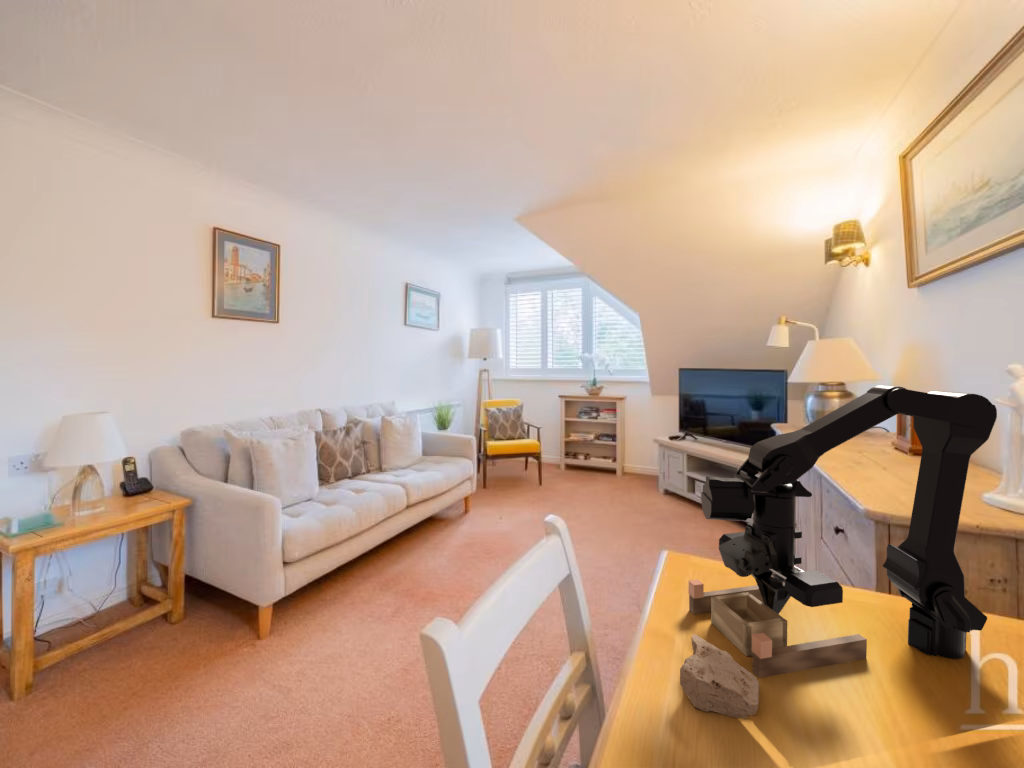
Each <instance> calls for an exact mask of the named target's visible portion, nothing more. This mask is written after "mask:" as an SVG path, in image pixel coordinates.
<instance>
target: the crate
mask: <svg viewBox="0 0 1024 768" xmlns="http://www.w3.org/2000/svg"><path fill="white" fill-rule="evenodd" d="M710 622H711V625H713V626H714V628H716V630H718V631H719V633H721V634H722V635H723V636H724V637H725V638H726V639H727V640H729V641H730V643H732V644H733V645H734V646H735V647H736V648H737V649H738V650H739V651H740V652H741V653H742V654H743V655H745V657H751V656H752V657H753V652H752V634H758V633H764V634H765V635H766V636H768V637H769V638H770V639H771V640H772V649H773V648H779V647H785V646H788V620H787V619H785V617H783V616H782V615H780V613H779V614H777V613H776V612H775V611H773V610H772V609H771V608H769V607H768V606H766V605H765V604H764V603H762V602H761V601H760V600H758V599H757V598H755V597H754V596H753V595H751V594H750V593H749V592H745V593H737V594H730V595H723V596H716V597H711V612H710Z"/></svg>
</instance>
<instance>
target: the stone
mask: <svg viewBox="0 0 1024 768" xmlns="http://www.w3.org/2000/svg"><path fill="white" fill-rule="evenodd" d="M691 646H692V648H691V649H692V650H693V653H692V655H690V656H689V657H687V658H685V659H684V661H683V664H682V665H681V667H680V670H679V684H680V686H681V689H682V690H683V692H684V694H685V695H686V696H687V697H688V699H689V700H690V703H691V704H693V706H694V707H695V708H696V709H699V710H701V711H702V712H706V713H708V712H715V713H719V714H720V715H723V716H728V717H731V718H737V719H740V718H741V719H747V718H748V719H749V718H750V717H749V716H752V717H753V716H754V715H756V714H757V713H758V709H759V704H760V701H759V700H760V699H759V697H760V682H759V680H758V679H757V678H758V677H757V676H756V675H755V674H754V673H753V672H752V673H751V671H749V670H747V668H745V667H743V666H742V665H740V664H739V663H738V662H737V661H736V660H735V659H733V657H732V655H731V654H730V653H729V652H728V651H726V650H724V649H723V650H721V649H720V648H718V647H717V646H715V644H712V643H710V642H708V641H707V640H705V639H703V638H702V637H701V636H699V635H698V634H696V633H693V634H692V636H691ZM748 715H749V716H748Z"/></svg>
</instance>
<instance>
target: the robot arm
mask: <svg viewBox="0 0 1024 768" xmlns="http://www.w3.org/2000/svg"><path fill="white" fill-rule="evenodd" d="M898 414H899V415H903V416H908V417H912V418H913V420H912V421H913V430H914V432H915V434H916V436H917V438H918V440H919V442H920V445H921V449H922V450H921V457H920V462H919V470H918V474H917V480H916V481H917V482H916V487H915V493H914V498H913V505H912V510H911V516H910V521H909V522H910V523H909V529H908V534H907V538H906V539H905V540H904V541H902V542H901V543H900V544H898V545H895V544H892V543H889V544H887V546H886V558H885V559H886V560H885V561H884V563H883V564H882V568H884V569H885V570H886V576H887V578H888V580H889V581H890V582H891V584H892V585H893V586H894V587H896V588H897V592H898V593H899V596H901V597H902V598H905V599H906V600H908V602H910V603H911V607H909V616H908V617H909V619H908V623H907V624H908V627H907V645H909V646H910V647H912V648H914V649H916V650H917V651H919V652H921V653H922V654H924V655H926V656H932V657H940V658H944V659H949V660H961V659H964V658H965V657H966V656H965V655H966V651H967V633H970V632H971V631H982V630H983V628H984V627H985V625H986V622H987V620H988V616H986V614H984V613H983V612H982V611H981V610H980V609H979V608H978V607H977V606H976V605H974V604H973V603H972V602H971V600H969V599H968V598H967V597H966V588H965V587H966V586H965V574H964V573H963V569H962V567H961V565H960V563H959V561H958V558H957V557H956V554H955V546H956V542H957V541H956V539H957V535H958V528H959V522H960V518H961V512H962V507H963V506H962V505H963V501H964V500H963V499H964V494H965V488H966V483H967V476H968V472H969V471H968V470H969V466H970V465H969V464H970V459H971V456H972V455H973V454H974V453H975V452H976V451H978V449H980V448H981V447H982V446H983V445H984V444H985V443H986V442H987V441H988V440H989V439H990V436H991V434H992V431H993V428H994V426H995V423H996V421H997V418H998V410H997V406H996V405H995V404H993V402H991V401H990V400H989V399H988V398H987V397H985V396H983V395H981V394H976V393H970V392H969V393H967V392H957V391H956V392H955V391H945V390H944V391H943V390H942V391H941V390H934V391H932V390H930V391H929V392H924V391H918V390H912V389H907V388H906V387H903V386H895V385H886V384H885V385H884V384H883V385H879V384H878V385H876V386H873V387H871V388H869V389H868V390H867V391H866V392H865V393H863V394H862V395H860V396H858V397H857V398H854V399H852V400H851V401H849V402H847V403H846V404H844V405H841V406H840V407H838V408H836V409H835V410H832V411H831V412H829V413H828V414H827V413H826V415H824V416H822V417H820V418H818V419H817V420H815V421H813V422H811V423H809V424H807V425H806V426H803V427H802V428H800V429H798V430H797V429H796V430H795V431H794V430H793V431H790V432H786V433H782V434H777V435H774V436H770V437H768V438H764V439H763V440H760V441H759V440H758V441H757V442H756V443H754V444H753V445H752V446H751V447H750V448H749V452H748V457H747V458H746V459H745V461H744V462H743V463H742V464H741V465H740V467H739V468H738V469H737V470H736V472H735V473H734V474H733V476H734V477H718V476H714V475H713V476H711V475H707V476H706V477H705V483H704V484H703V487H702V491H701V493H700V499H701V501H700V502H701V508H702V513H703V515H704V518H705V519H707V520H715V521H734V522H735V521H738V522H746V521H747V520H748V519H752V522H746V525H745V526H744V530H745V531H740V532H739V531H738V532H731V533H723V534H722V535H721V537H720V538H718V550H719V553H720V556H721V560H722V562H723V565H724V567H726V568H727V569H729V570H731V571H732V572H733V573H735V574H736V575H737V576H738V577H741V578H746V577H749V576H752V578H754V580H755V582H756V585H758V587H759V590H760V592H761V596H762V599H763V602H764V604H765V605H766V606H768V607H769V608H771V609H772V610H773V611H775V612H776V613H777V614H779V615H780V613H781V612H782V610H783V609H784V607H785V606H786V604H787V602H788V601H789V600H790V598H793V599H794V600H796V601H797V602H799V603H801V604H802V605H804V606H806V607H810V608H815V607H822V606H823V607H824V606H828V605H829V606H830V605H834V604H835V605H837V604H841V603H843V600H844V598H843V596H844V590H843V586H842V585H841V584H840V583H839V582H838V581H837V580H835V579H833V578H831V577H829V576H827V575H825V574H824V573H821V572H820V571H818V570H816V569H814V570H805V571H804V570H803V569H801V568H799V567H797V566H796V565H801V564H802V557H801V556H799V555H797V554H796V539H802V538H803V531H802V530H800V529H797V528H796V503H797V502H796V501H797V500H796V499H797V498H800V497H801V498H811V497H812V496H813V493H812V492H811V491H810V490H808V489H807V488H806V487H805V486H804V485H803V484H802V483H801V481H800V480H799V479H800V478H801V477H802V476H804V475H805V474H806V473H808V472H809V471H811V470H812V469H813V467H815V464H816V463H817V462H818V460H819V458H820V457H822V456H823V455H825V454H826V453H828V452H829V451H832V450H833V449H835V448H837V447H839V446H841V445H842V444H845V443H846V442H848V441H849V440H852V439H853V438H855V437H857V436H859V435H860V434H863V433H865V432H866V431H868V430H870V429H873V428H874V427H876V426H877V425H880V424H881V423H883V422H885V421H887V420H889V419H891V418H892V417H894V416H896V415H898ZM758 474H760V476H759V477H758V476H757V475H758Z"/></svg>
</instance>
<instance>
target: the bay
mask: <svg viewBox="0 0 1024 768" xmlns="http://www.w3.org/2000/svg"><path fill="white" fill-rule="evenodd" d="M704 586H705V585H704V583H703V582H702V581H701V580H699V579H691V580H688V596H689V597H688V598H689V599H688V600H689V601H688V602H689V603H688V604H689V605H688V606H689V608H688V609H689V612H690V613H691V614H692V615H699V614H705V613H706V614H707V613H711V597H716V596H723V595H730V594H737V593H745V592H749V593H750V594H751V595H753V596H754V597H755V598H757V599H758V600H760V601H761V602H762V603H764V602H763V599H762V596H761V592H760V590H759V587H758V585H757V584H755V585H746V586H741V587H733V588H725V589H720V590H719V589H718V590H711V591H710V590H709V591H705V592H704ZM867 643H868V638H865V637H864V636H862V635H861V634H859V633H858V634H857V633H856V634H852V635H851V634H850V635H845V636H839V637H833V638H827V639H823V640H821V639H820V640H815V641H809V642H803V643H798V644H791V645H787V646H785V647H779V648H773V649H772V640H771V639H770V638H769V637H768V636H766V635H765V634H764V633H758V634H752V652H753V655H752V674H753V675H754V676H755V677H756V678H758V679H763V678H768V677H774V676H779V675H784V674H790V673H796V672H801V671H807V670H813V669H818V668H824V667H829V666H834V665H840V664H845V663H852V662H855V661H856V662H857V661H861V660H866V659H867V649H868V647H867V645H868V644H867Z"/></svg>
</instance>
